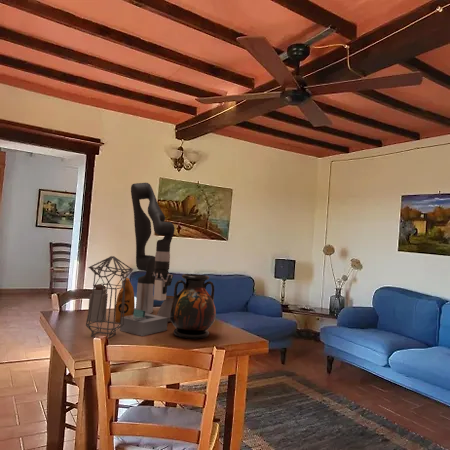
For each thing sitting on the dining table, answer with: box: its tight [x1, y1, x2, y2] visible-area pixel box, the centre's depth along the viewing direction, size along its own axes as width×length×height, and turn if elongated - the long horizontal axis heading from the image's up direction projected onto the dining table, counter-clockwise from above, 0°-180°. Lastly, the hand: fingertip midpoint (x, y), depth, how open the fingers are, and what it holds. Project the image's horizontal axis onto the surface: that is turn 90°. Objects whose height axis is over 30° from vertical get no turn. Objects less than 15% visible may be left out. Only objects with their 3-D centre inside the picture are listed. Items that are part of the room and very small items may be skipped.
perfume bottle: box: [87, 284, 109, 323], centre depth 205 cm, size 7×7×18 cm
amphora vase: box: [170, 273, 217, 340], centre depth 188 cm, size 22×22×28 cm
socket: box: [119, 313, 168, 337], centre depth 191 cm, size 17×14×6 cm
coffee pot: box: [156, 295, 174, 323], centre depth 218 cm, size 21×12×15 cm, turn 104°
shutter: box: [124, 308, 146, 321], centre depth 185 cm, size 6×7×4 cm
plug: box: [153, 278, 167, 302], centre depth 208 cm, size 5×5×11 cm
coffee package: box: [115, 277, 136, 323], centre depth 207 cm, size 10×12×22 cm
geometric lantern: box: [85, 255, 134, 339], centre depth 177 cm, size 16×16×35 cm
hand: (160, 293), depth 208 cm, fingers closed on plug, 4 cm apart
